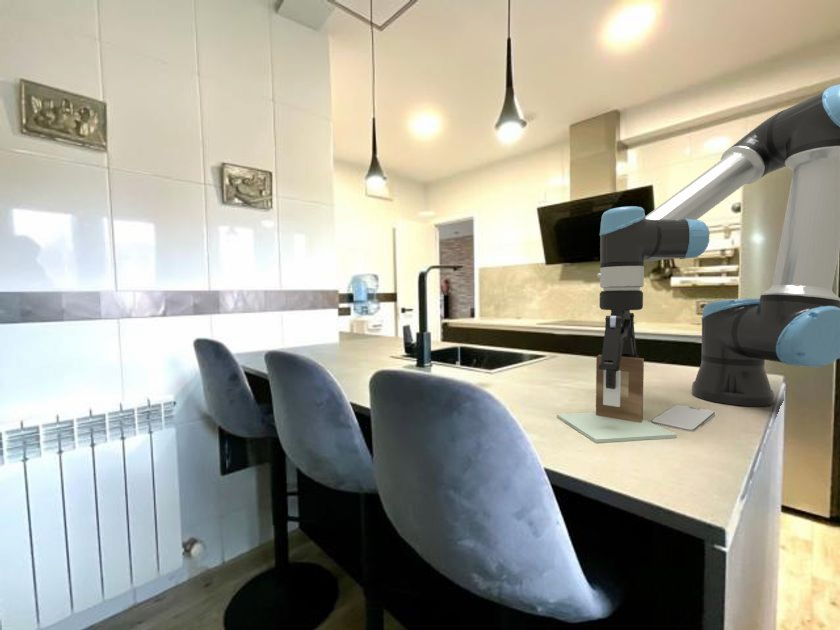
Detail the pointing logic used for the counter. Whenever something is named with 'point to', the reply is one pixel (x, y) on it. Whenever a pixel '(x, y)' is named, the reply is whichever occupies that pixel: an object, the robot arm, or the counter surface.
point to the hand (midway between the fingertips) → (619, 397)
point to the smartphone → (684, 418)
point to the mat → (613, 428)
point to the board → (623, 391)
